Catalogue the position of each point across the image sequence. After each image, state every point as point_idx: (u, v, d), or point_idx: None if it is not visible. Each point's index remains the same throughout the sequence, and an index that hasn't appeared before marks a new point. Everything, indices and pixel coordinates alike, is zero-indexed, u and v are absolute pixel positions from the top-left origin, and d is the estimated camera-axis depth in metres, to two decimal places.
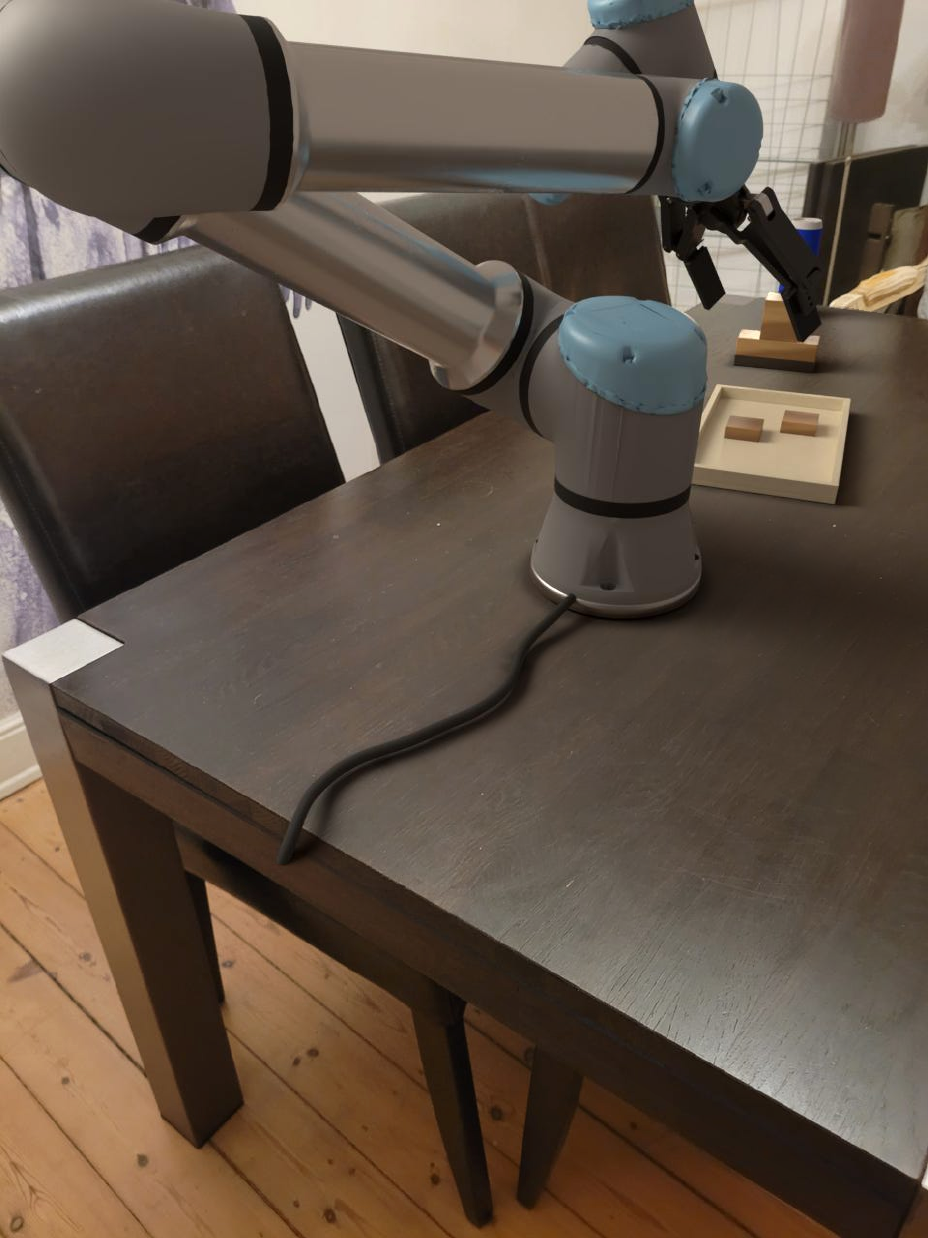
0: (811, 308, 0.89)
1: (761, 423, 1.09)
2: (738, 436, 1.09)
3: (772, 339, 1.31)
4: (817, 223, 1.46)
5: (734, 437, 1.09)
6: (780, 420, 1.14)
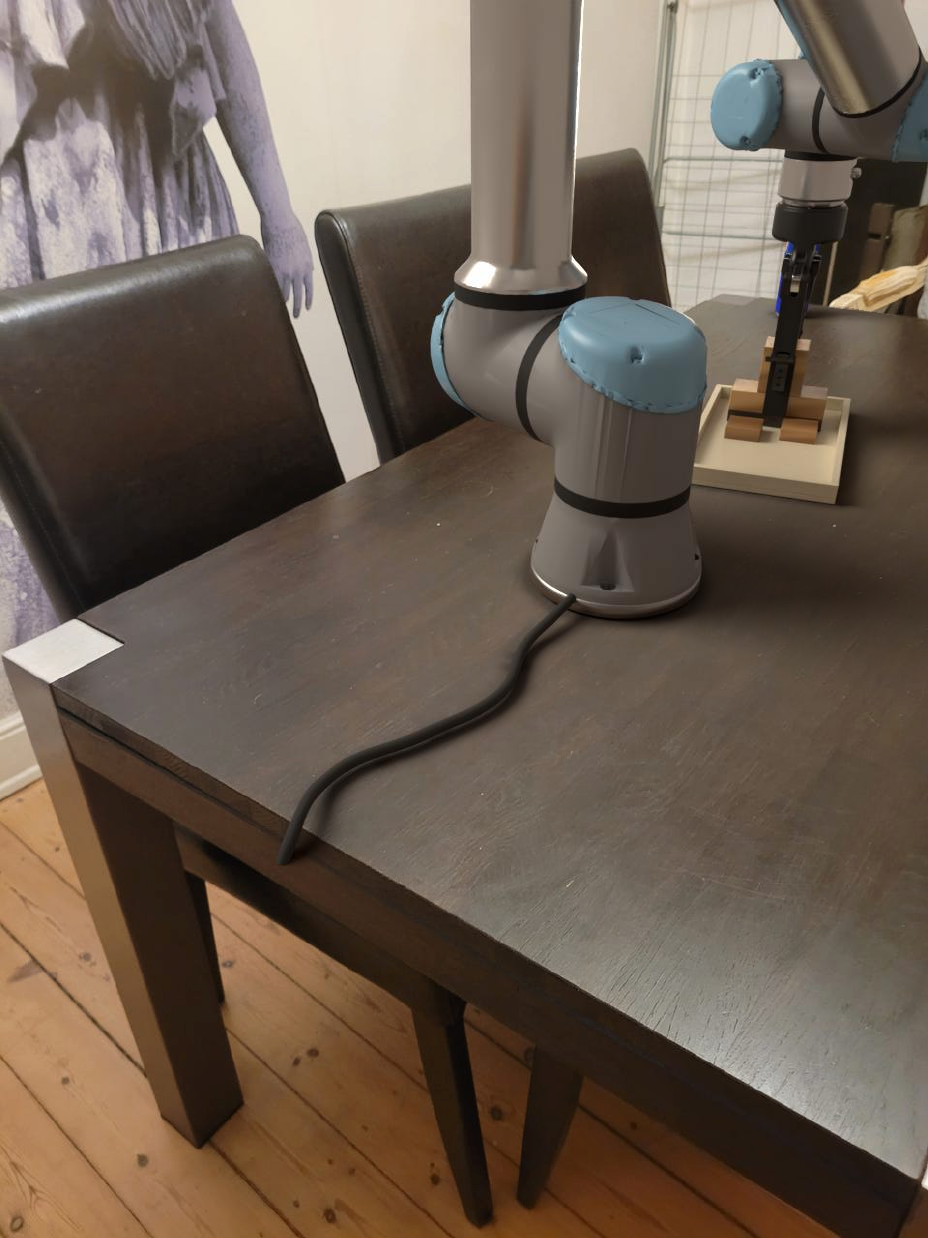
0: (777, 388, 1.08)
1: (761, 423, 1.09)
2: (738, 436, 1.09)
3: None
4: None
5: (734, 437, 1.09)
6: None
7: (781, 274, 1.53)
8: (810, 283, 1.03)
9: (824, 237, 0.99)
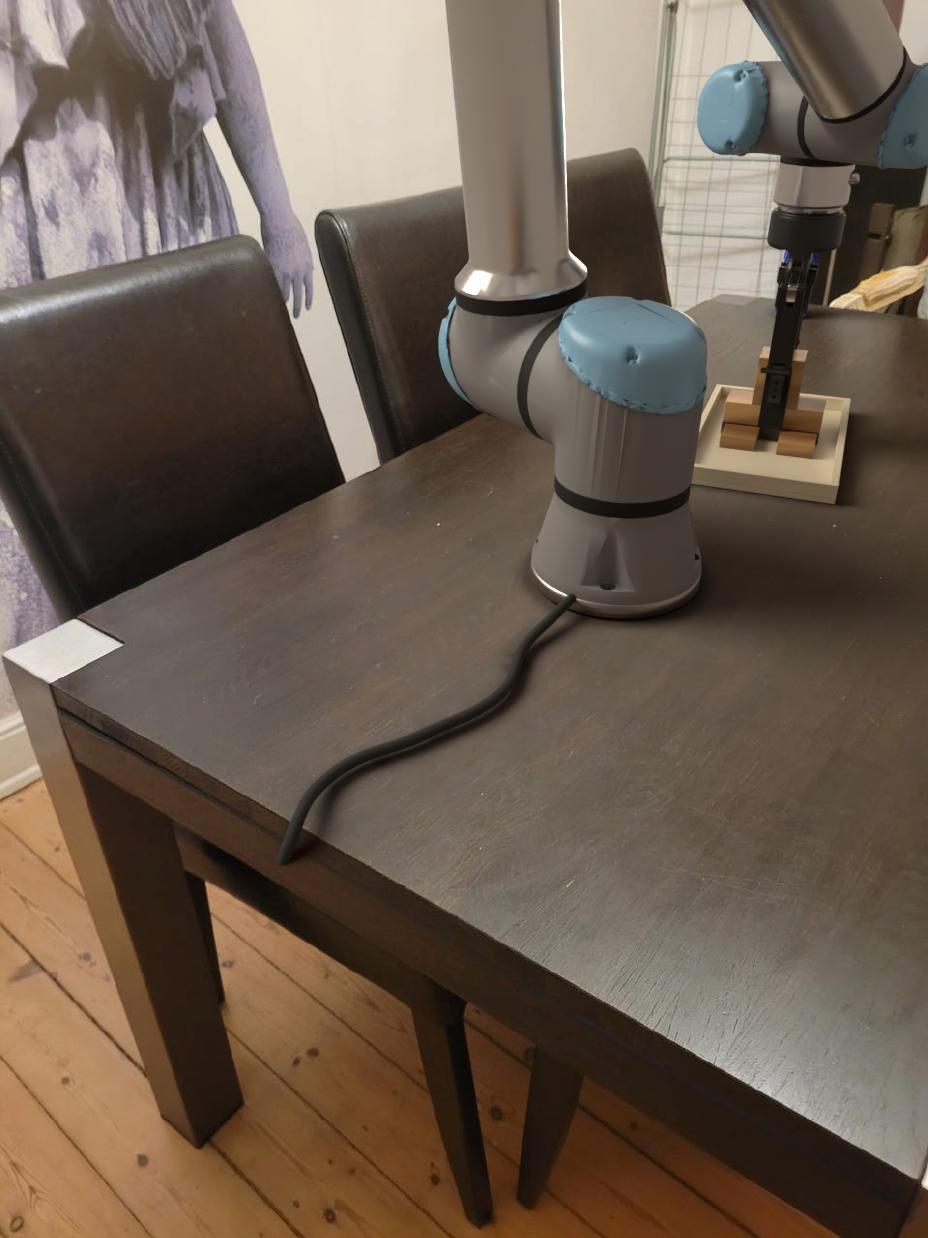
0: (773, 400, 1.04)
1: (757, 432, 1.07)
2: (734, 445, 1.07)
3: None
4: None
5: (730, 446, 1.07)
6: None
7: None
8: (807, 292, 0.99)
9: (821, 245, 0.96)
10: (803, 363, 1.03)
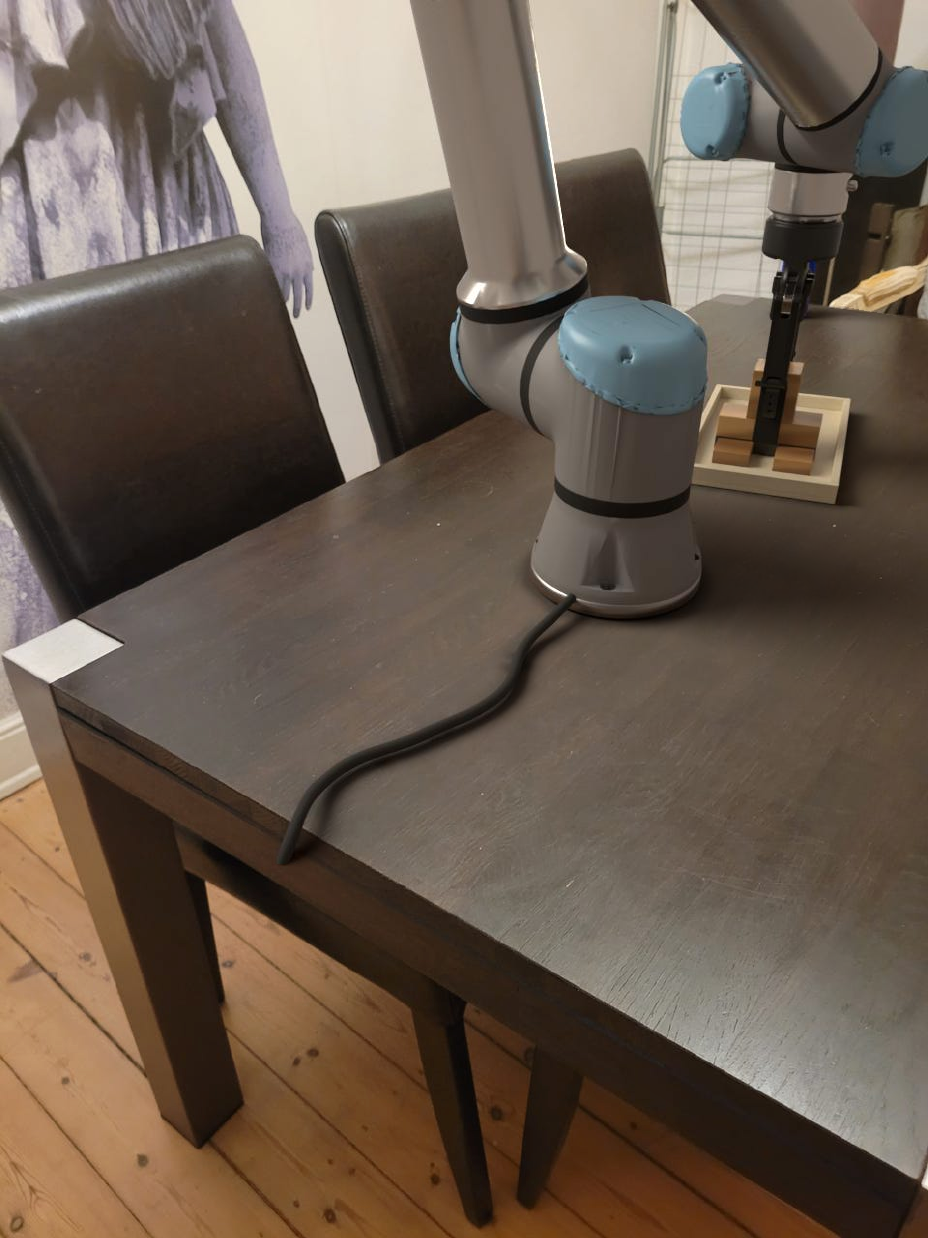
0: (768, 414, 1.01)
1: (751, 447, 1.03)
2: (727, 461, 1.03)
3: None
4: None
5: (723, 461, 1.03)
6: None
7: None
8: (803, 303, 0.95)
9: (818, 254, 0.92)
10: (799, 376, 0.99)
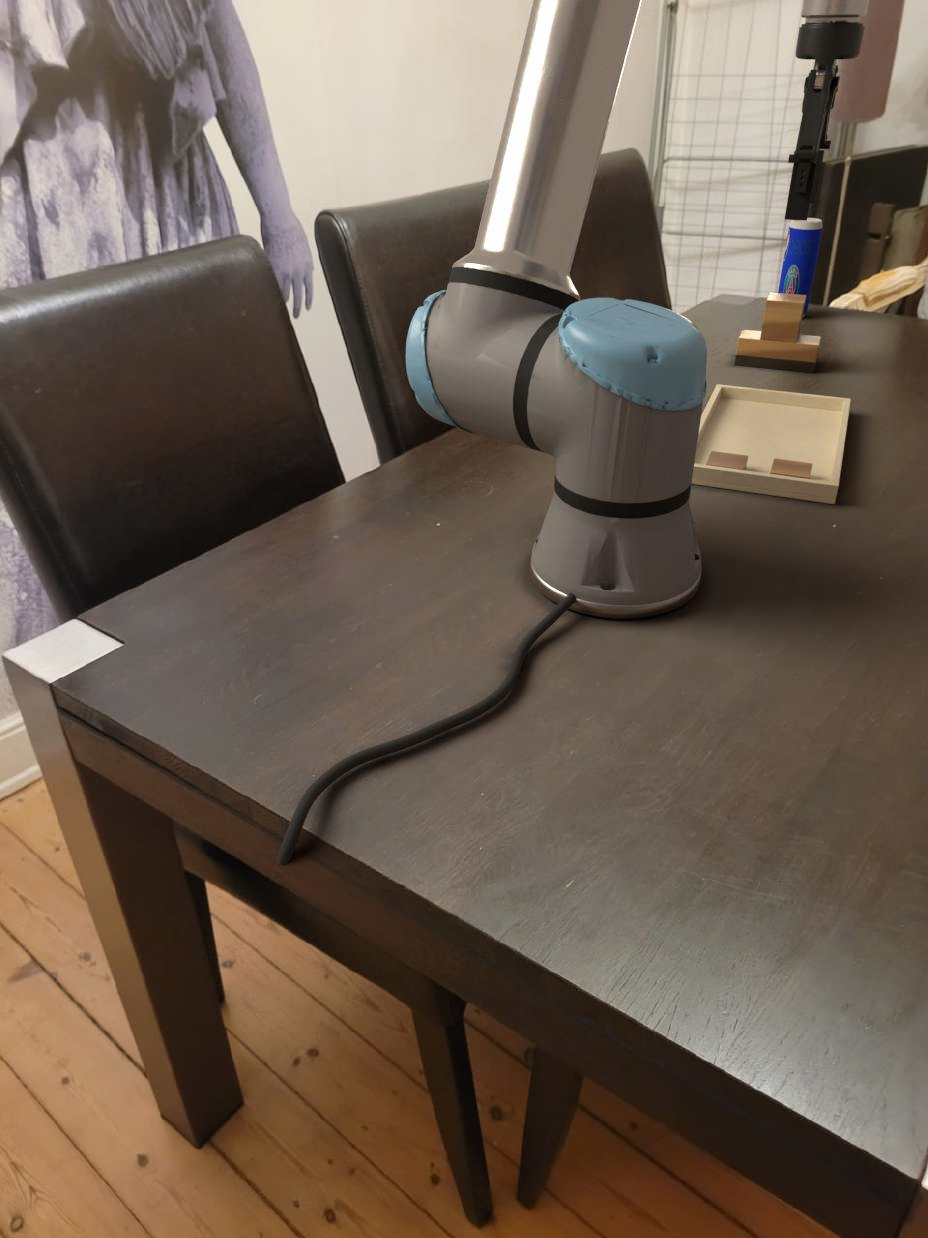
0: (799, 189, 1.15)
1: (745, 460, 1.00)
2: None
3: (773, 339, 1.31)
4: (817, 223, 1.46)
5: None
6: (780, 420, 1.14)
7: (781, 274, 1.53)
8: (831, 93, 1.13)
9: (843, 51, 1.10)
10: (802, 304, 1.27)
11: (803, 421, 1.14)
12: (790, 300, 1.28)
